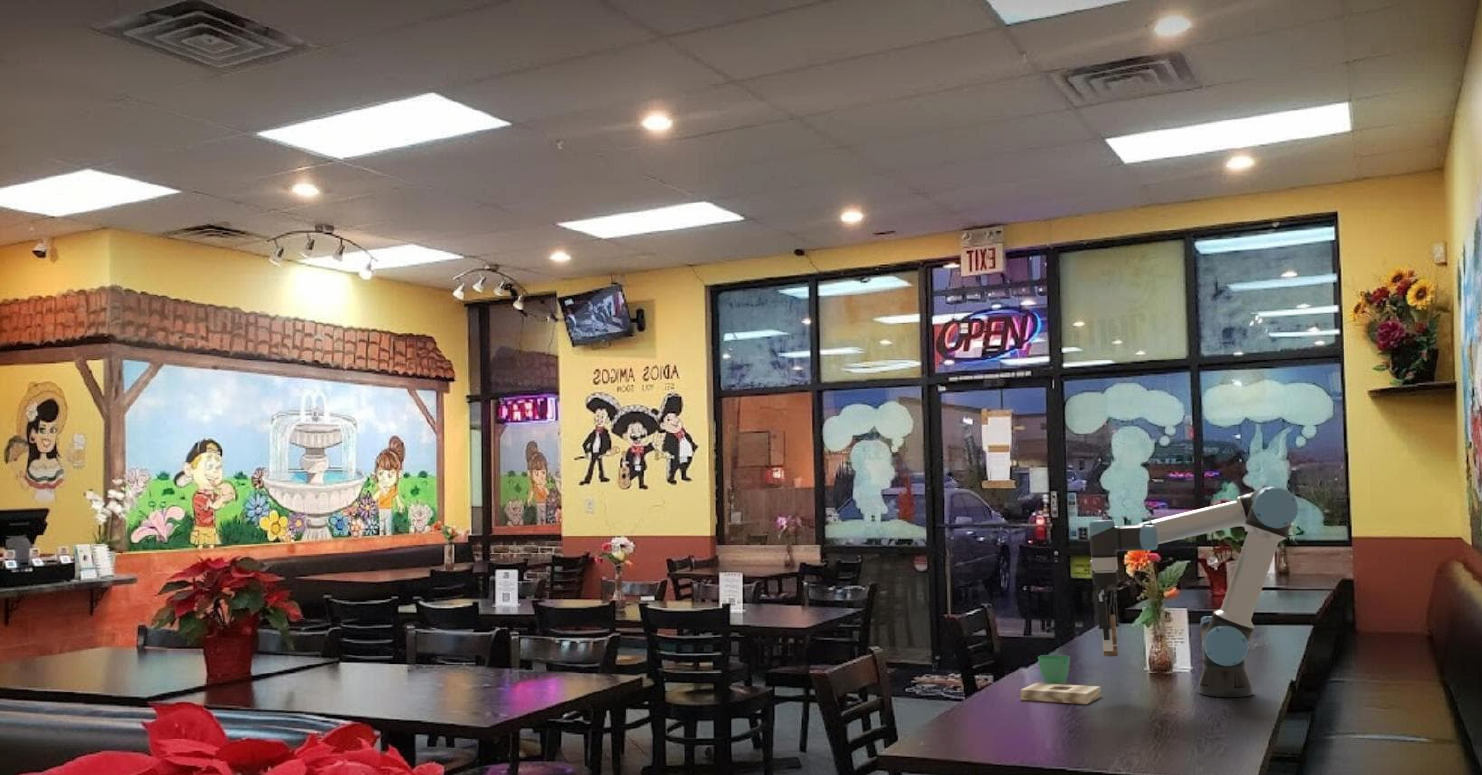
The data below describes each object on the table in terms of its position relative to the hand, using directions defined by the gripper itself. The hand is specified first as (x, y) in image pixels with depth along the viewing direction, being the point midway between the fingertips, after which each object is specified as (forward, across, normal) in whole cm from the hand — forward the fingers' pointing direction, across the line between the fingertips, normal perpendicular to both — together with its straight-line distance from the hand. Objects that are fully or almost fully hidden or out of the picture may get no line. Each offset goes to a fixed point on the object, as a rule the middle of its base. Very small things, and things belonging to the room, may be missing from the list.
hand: (1110, 649), depth 360 cm
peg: (+2, 0, 0) cm, 2 cm away
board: (+14, +5, -14) cm, 21 cm away
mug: (+14, -13, -22) cm, 29 cm away
